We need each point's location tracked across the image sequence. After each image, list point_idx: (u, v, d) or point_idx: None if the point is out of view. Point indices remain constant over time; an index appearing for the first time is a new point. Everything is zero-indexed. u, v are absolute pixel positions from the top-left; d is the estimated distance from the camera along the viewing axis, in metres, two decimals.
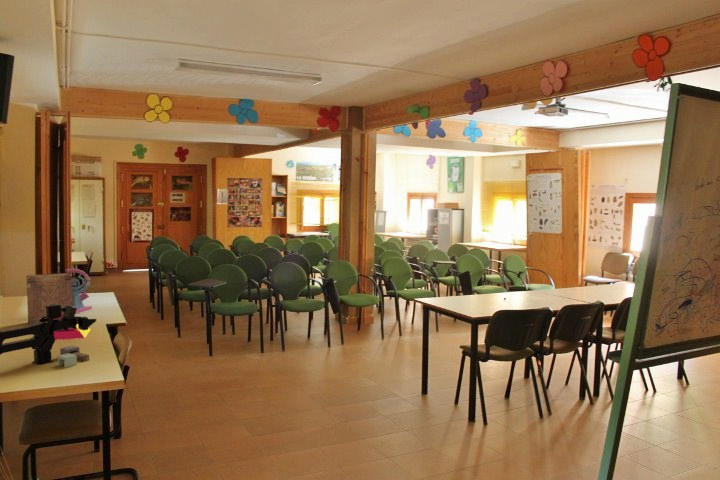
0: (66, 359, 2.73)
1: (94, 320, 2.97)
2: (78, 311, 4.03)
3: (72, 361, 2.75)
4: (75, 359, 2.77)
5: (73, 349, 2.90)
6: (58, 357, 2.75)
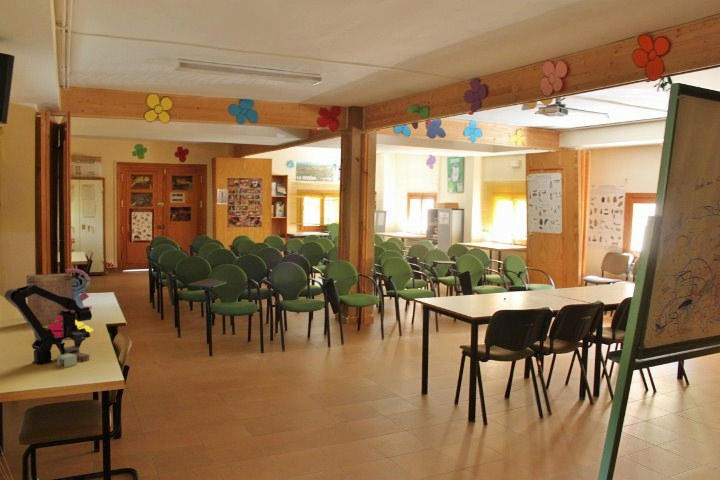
0: (66, 359, 2.73)
1: (62, 353, 2.88)
2: None
3: (72, 361, 2.75)
4: (75, 359, 2.77)
5: (73, 349, 2.90)
6: (58, 357, 2.75)
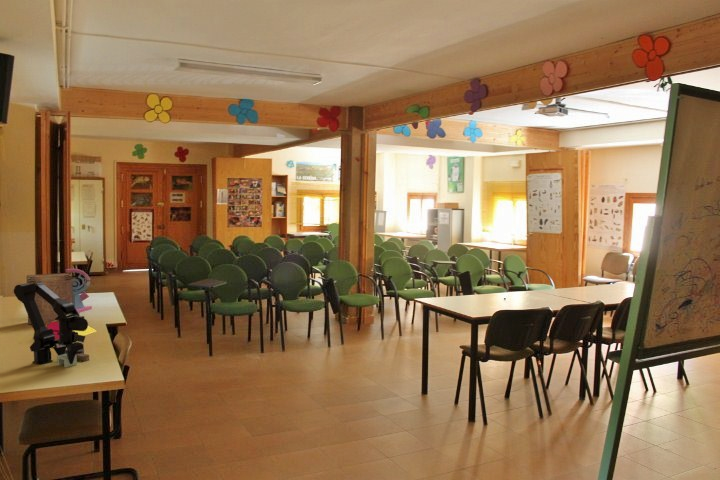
0: (66, 359, 2.73)
1: (72, 361, 2.74)
2: (78, 311, 4.03)
3: None
4: (75, 359, 2.77)
5: (78, 350, 2.88)
6: (58, 357, 2.75)
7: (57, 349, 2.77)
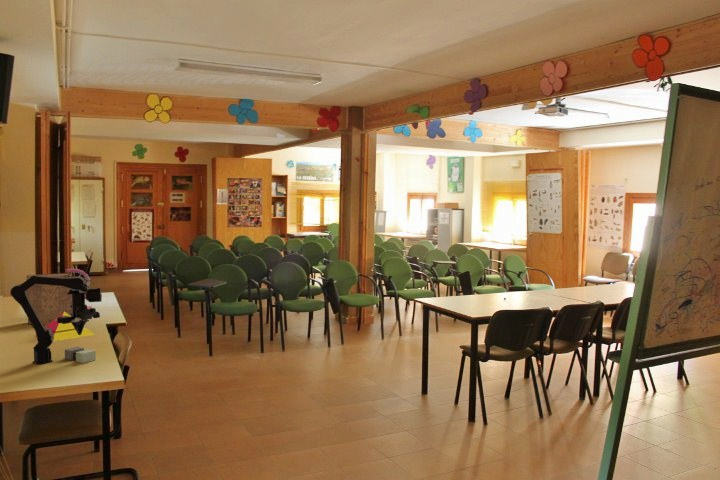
0: (76, 354, 2.82)
1: (78, 332, 2.85)
2: None
3: (80, 358, 2.81)
4: (81, 357, 2.80)
5: (78, 350, 2.88)
6: None
7: None
